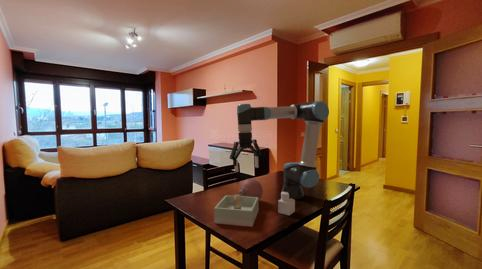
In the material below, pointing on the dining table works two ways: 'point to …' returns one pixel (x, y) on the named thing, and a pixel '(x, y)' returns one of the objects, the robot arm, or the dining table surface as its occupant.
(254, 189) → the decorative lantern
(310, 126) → the robot arm
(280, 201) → the medicine bottle
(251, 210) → the box
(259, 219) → the dining table surface
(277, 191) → the dining table surface
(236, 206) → the dowel
